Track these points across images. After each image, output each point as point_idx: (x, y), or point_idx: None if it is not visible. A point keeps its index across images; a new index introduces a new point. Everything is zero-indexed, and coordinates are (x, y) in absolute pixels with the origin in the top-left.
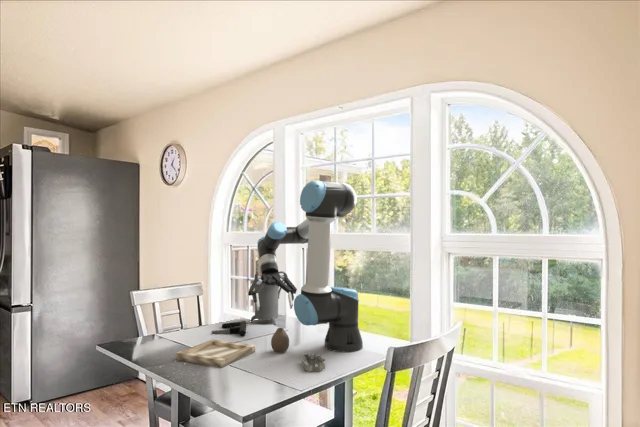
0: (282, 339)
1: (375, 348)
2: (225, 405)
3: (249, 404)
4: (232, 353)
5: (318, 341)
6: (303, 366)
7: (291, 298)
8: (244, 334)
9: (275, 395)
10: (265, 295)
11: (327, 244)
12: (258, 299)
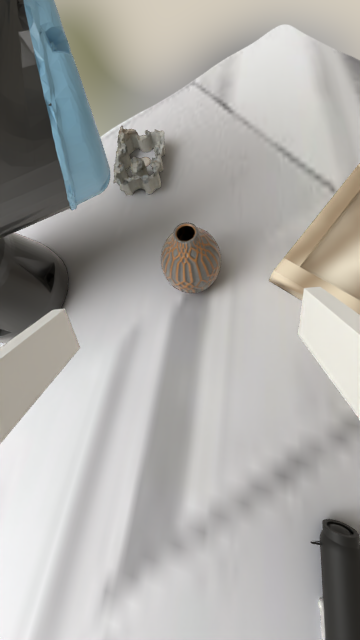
0: (186, 229)
1: None
2: (314, 40)
3: (277, 44)
4: (343, 203)
5: None
6: (162, 166)
7: (15, 337)
8: (325, 522)
9: (235, 68)
10: None
11: None
12: (345, 318)
